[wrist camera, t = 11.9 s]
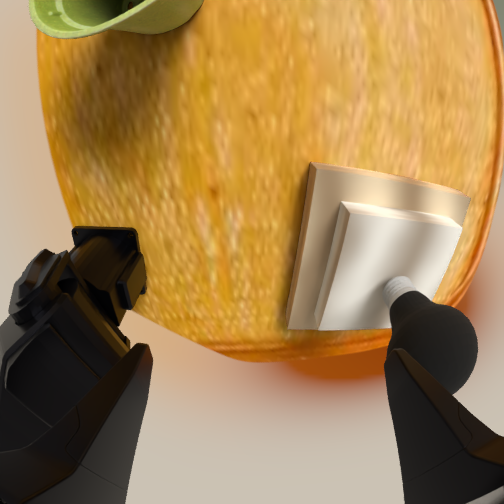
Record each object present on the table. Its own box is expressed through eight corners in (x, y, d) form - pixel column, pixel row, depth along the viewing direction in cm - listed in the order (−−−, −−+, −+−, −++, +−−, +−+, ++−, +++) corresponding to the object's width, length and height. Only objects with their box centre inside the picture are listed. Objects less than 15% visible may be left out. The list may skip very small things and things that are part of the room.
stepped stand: (285, 313, 25) (289, 346, 22) (310, 161, 18) (324, 177, 15) (410, 312, 26) (424, 338, 23) (457, 189, 19) (485, 208, 15)
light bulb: (424, 295, 20) (479, 391, 11) (361, 320, 21) (400, 430, 12) (423, 237, 17) (506, 339, 8) (350, 265, 18) (406, 393, 9)
